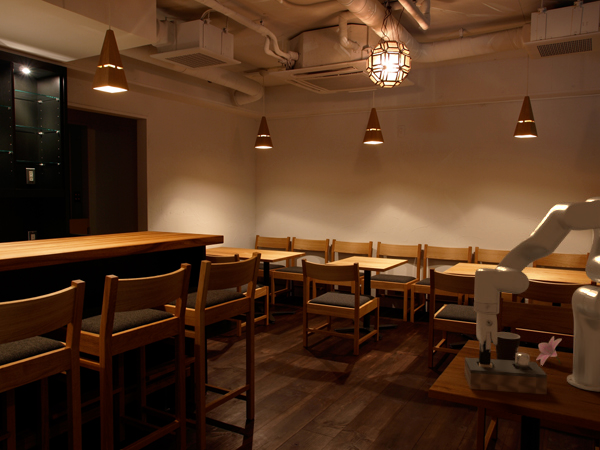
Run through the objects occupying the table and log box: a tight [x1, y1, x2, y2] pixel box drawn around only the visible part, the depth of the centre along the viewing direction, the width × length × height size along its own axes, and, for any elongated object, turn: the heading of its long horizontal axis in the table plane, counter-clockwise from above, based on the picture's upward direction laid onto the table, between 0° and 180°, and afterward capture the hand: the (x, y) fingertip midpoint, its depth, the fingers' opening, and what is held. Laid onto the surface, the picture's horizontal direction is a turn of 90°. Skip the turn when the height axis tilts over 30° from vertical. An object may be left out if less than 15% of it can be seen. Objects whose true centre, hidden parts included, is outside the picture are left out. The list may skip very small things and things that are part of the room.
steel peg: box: [515, 351, 530, 370], centre depth 151 cm, size 4×4×6 cm
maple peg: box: [479, 363, 492, 368], centre depth 153 cm, size 4×4×6 cm
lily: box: [535, 336, 563, 366], centre depth 173 cm, size 12×12×10 cm
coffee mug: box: [495, 331, 521, 361], centre depth 174 cm, size 12×9×10 cm
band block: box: [464, 357, 548, 395], centre depth 152 cm, size 22×12×6 cm, turn 79°
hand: (484, 363), depth 153 cm, fingers closed
